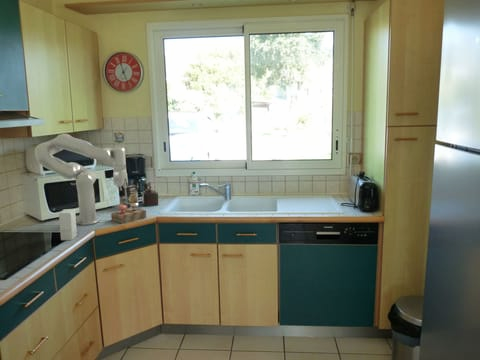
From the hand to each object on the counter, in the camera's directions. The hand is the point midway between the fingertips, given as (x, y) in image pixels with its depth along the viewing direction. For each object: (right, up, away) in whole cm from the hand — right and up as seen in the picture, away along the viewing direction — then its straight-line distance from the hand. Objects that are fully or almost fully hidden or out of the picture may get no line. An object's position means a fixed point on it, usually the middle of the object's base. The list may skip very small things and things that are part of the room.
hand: (122, 196), depth 252 cm
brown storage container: (+8, -9, +42) cm, 44 cm away
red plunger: (0, -11, +2) cm, 11 cm away
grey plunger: (+6, -10, +8) cm, 14 cm away
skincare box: (-20, -22, -31) cm, 43 cm away
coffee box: (-4, -10, +35) cm, 37 cm away
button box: (+3, -15, +6) cm, 16 cm away
